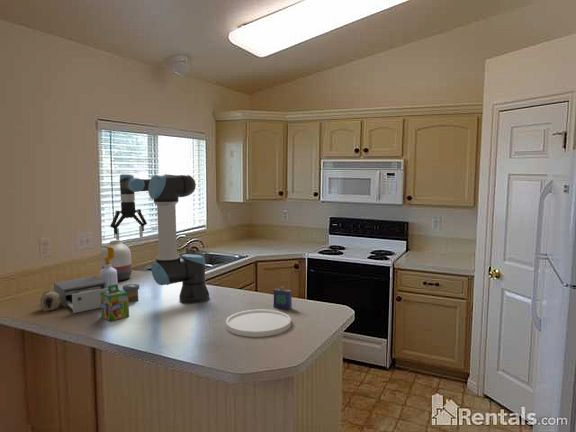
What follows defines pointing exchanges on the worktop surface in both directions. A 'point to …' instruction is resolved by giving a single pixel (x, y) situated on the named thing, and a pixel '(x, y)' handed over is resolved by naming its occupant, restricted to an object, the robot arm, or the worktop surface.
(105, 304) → the chalk box
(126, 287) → the disc
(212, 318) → the worktop surface
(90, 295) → the grey drawer
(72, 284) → the housing
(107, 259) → the soap bottle
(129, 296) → the block
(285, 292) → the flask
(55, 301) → the garlic bulb
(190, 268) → the robot arm
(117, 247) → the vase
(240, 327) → the plate
